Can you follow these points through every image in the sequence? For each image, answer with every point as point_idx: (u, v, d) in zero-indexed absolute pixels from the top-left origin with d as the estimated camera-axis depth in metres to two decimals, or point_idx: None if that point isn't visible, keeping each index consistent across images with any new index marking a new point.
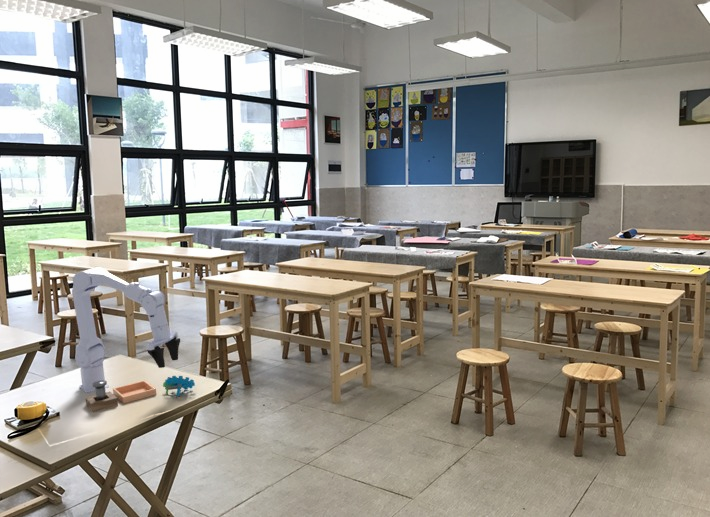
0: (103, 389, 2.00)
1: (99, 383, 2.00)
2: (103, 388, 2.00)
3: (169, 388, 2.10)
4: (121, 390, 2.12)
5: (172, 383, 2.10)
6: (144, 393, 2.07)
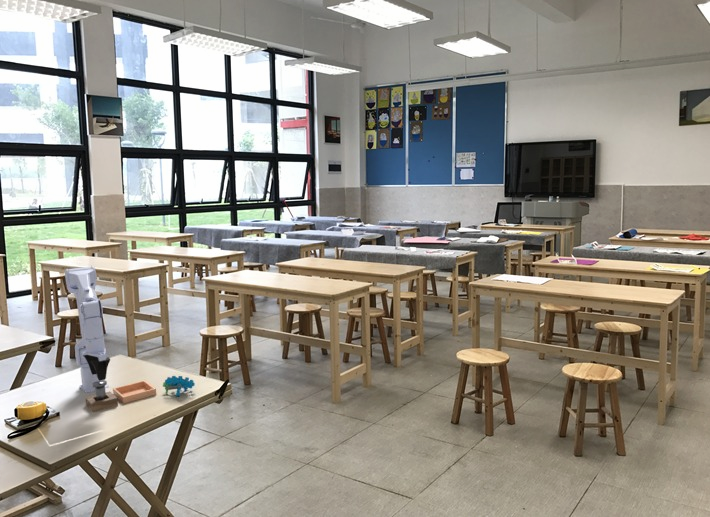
0: (103, 389, 2.00)
1: (99, 383, 2.00)
2: (103, 388, 2.00)
3: (169, 388, 2.10)
4: (121, 390, 2.12)
5: (172, 383, 2.10)
6: (144, 393, 2.07)
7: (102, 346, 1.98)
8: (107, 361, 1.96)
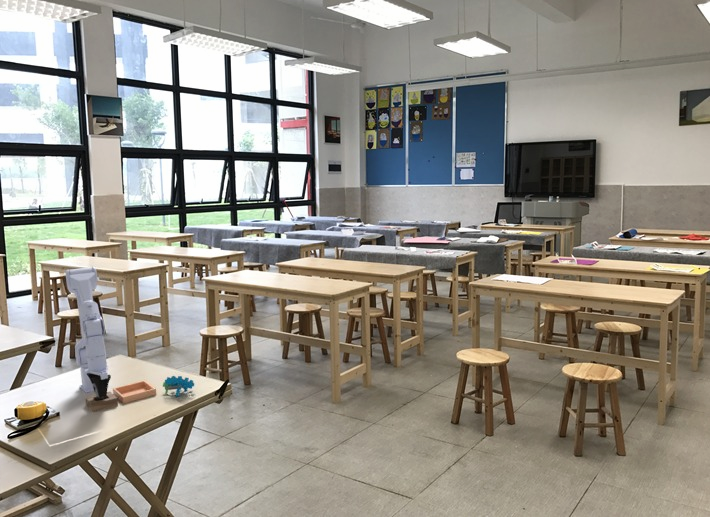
0: None
1: None
2: None
3: (169, 388, 2.10)
4: (121, 390, 2.12)
5: (172, 383, 2.10)
6: (144, 393, 2.07)
7: (104, 364, 1.99)
8: (108, 378, 1.98)
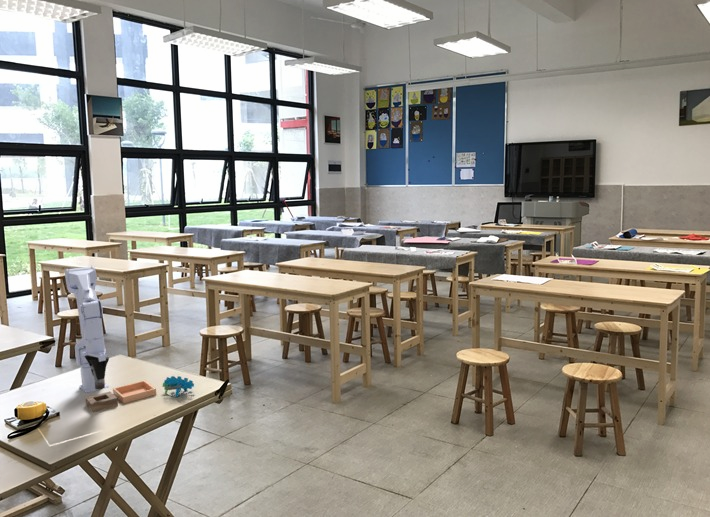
0: None
1: None
2: None
3: (168, 388, 2.10)
4: (121, 390, 2.12)
5: (171, 383, 2.09)
6: (144, 393, 2.07)
7: (102, 346, 1.98)
8: (106, 360, 1.97)
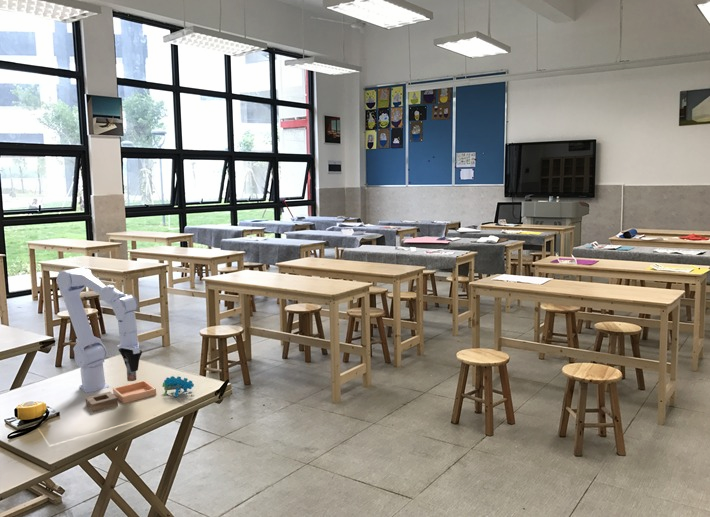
0: None
1: None
2: None
3: (168, 388, 2.09)
4: (121, 390, 2.12)
5: (171, 383, 2.09)
6: (144, 393, 2.07)
7: (136, 340, 2.06)
8: (139, 353, 2.05)
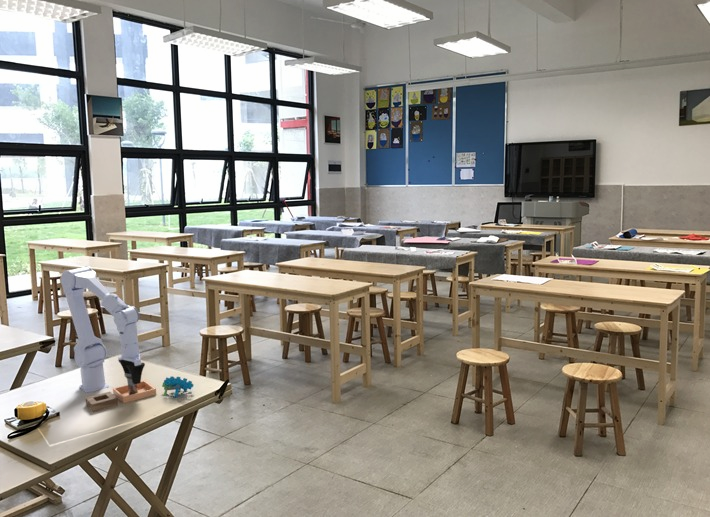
0: None
1: None
2: None
3: (168, 388, 2.09)
4: (121, 390, 2.12)
5: (171, 384, 2.09)
6: (144, 393, 2.07)
7: (137, 351, 2.07)
8: (142, 366, 2.05)
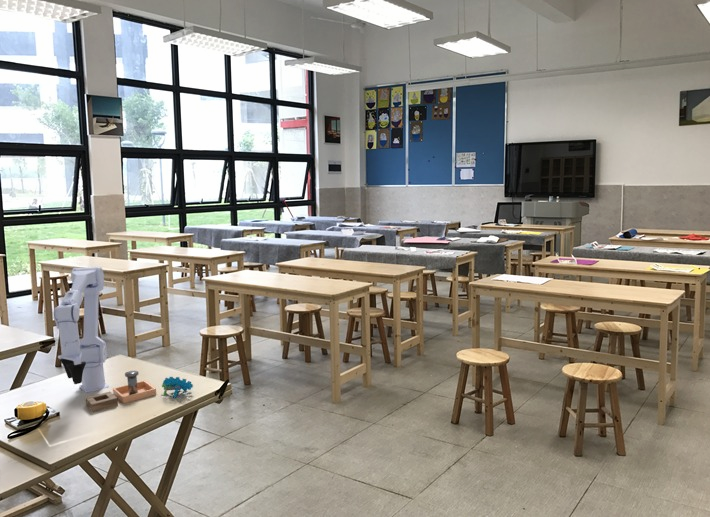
0: (135, 379, 2.08)
1: (131, 373, 2.08)
2: (135, 378, 2.09)
3: (167, 389, 2.09)
4: (121, 390, 2.12)
5: (170, 384, 2.09)
6: (144, 393, 2.07)
7: (78, 350, 1.98)
8: (83, 365, 1.96)
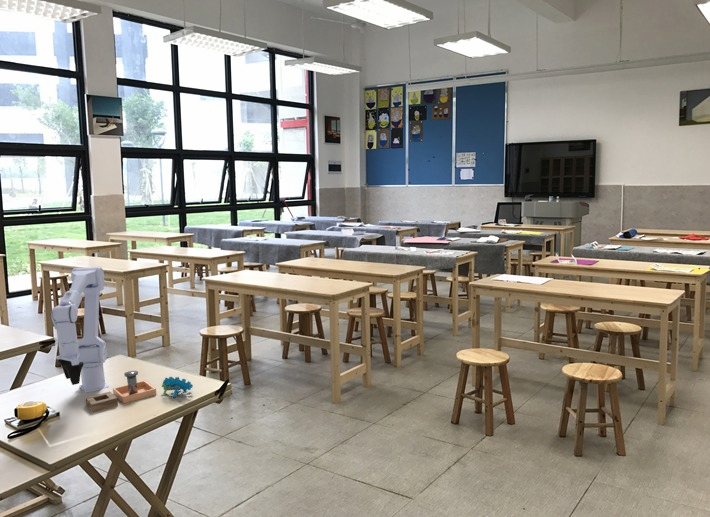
0: (134, 378, 2.09)
1: (131, 373, 2.08)
2: (134, 378, 2.09)
3: (167, 389, 2.09)
4: (121, 390, 2.12)
5: (170, 384, 2.09)
6: (144, 393, 2.07)
7: (76, 350, 1.98)
8: (80, 365, 1.95)
